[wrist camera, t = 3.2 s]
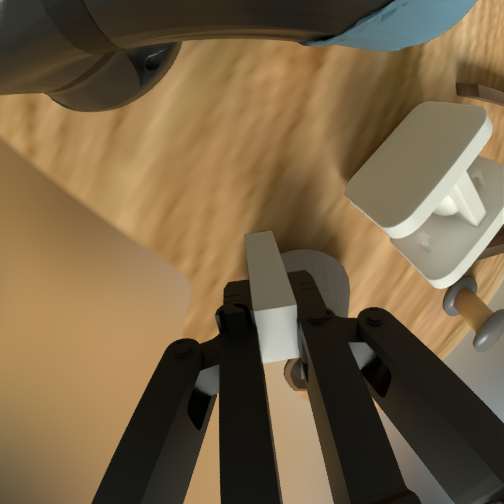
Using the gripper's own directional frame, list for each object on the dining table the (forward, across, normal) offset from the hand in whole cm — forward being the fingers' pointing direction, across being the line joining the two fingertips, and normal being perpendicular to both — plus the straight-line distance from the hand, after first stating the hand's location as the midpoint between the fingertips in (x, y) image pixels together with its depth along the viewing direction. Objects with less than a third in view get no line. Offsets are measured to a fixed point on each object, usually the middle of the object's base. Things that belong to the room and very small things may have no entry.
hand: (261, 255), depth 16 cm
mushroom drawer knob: (+14, +31, -20) cm, 39 cm away
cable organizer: (+14, +18, 0) cm, 23 cm away
